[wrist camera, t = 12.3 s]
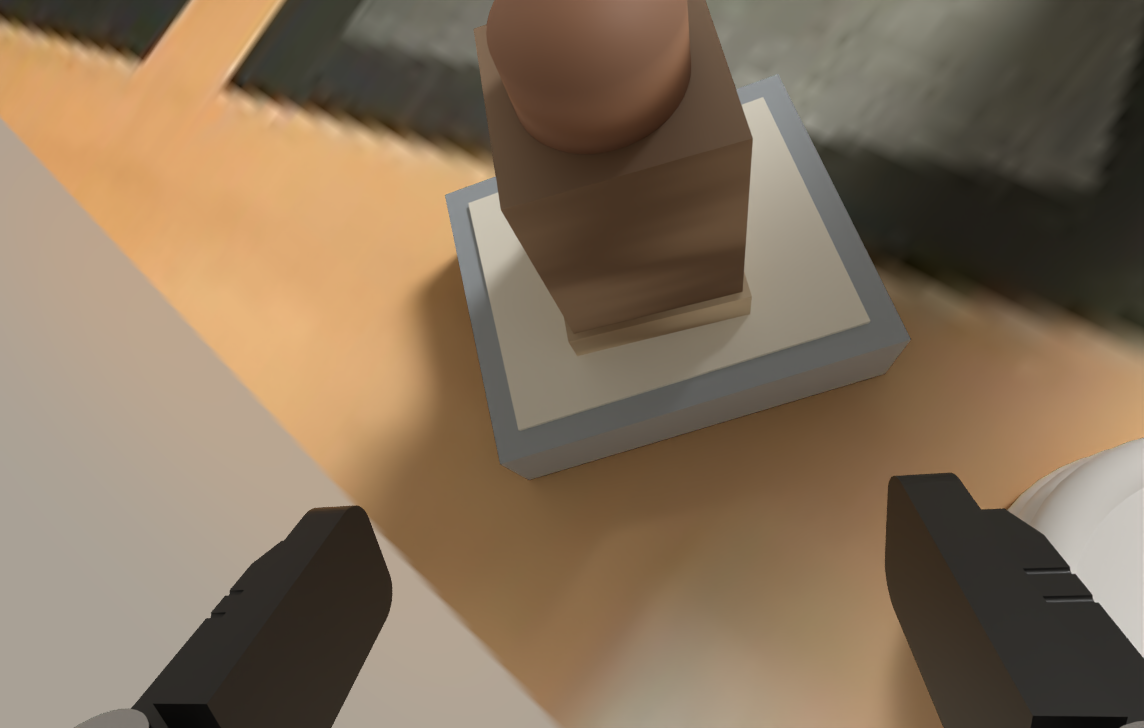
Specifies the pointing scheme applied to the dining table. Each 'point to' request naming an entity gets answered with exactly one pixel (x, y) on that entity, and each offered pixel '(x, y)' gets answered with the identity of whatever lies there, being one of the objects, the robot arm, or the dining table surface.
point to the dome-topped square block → (620, 161)
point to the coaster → (1098, 528)
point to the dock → (689, 357)
